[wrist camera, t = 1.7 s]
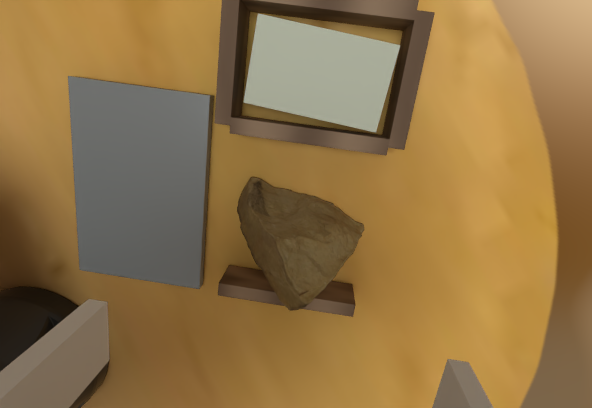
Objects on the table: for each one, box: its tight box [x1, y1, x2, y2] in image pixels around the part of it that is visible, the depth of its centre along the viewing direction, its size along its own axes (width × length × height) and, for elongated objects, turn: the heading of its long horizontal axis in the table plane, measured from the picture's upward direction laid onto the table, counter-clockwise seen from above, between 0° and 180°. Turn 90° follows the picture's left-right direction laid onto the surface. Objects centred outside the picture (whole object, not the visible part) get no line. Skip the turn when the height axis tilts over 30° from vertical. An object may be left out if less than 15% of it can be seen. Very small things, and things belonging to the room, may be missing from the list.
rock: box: [237, 177, 364, 310], centre depth 28 cm, size 11×9×10 cm
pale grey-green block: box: [244, 14, 400, 133], centre depth 26 cm, size 10×6×4 cm, turn 78°
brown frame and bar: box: [215, 0, 434, 317], centre depth 28 cm, size 14×25×4 cm, turn 173°
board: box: [68, 76, 214, 289], centre depth 31 cm, size 12×18×1 cm, turn 173°
